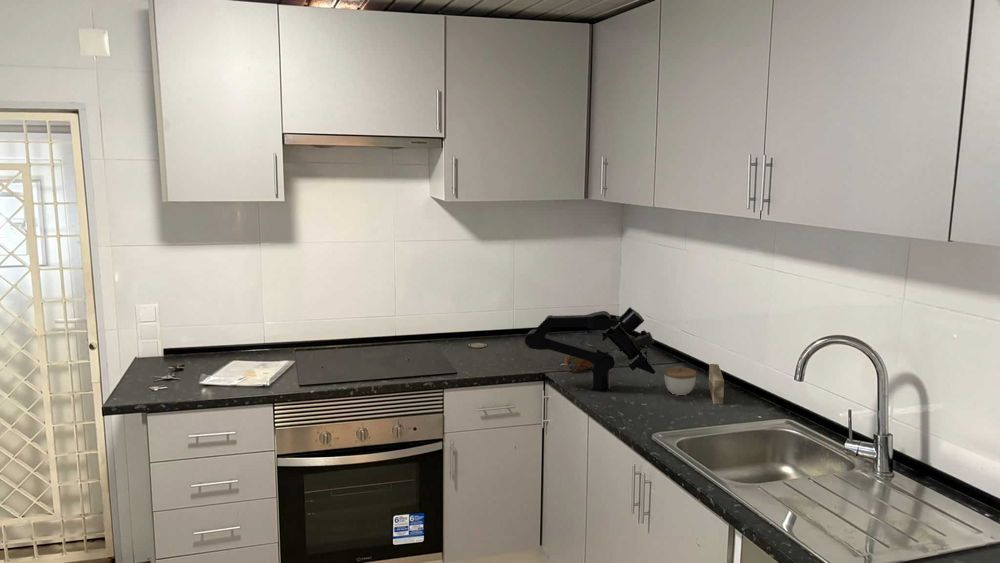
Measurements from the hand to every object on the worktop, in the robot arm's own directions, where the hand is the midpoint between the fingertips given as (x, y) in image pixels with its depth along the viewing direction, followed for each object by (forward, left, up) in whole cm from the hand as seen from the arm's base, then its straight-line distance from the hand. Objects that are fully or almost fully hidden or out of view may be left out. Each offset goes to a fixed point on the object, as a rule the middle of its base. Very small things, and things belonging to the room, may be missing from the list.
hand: (654, 372), depth 256 cm
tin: (+13, +34, -7) cm, 37 cm away
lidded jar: (+3, -8, -7) cm, 11 cm away
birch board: (+6, -20, -7) cm, 22 cm away
